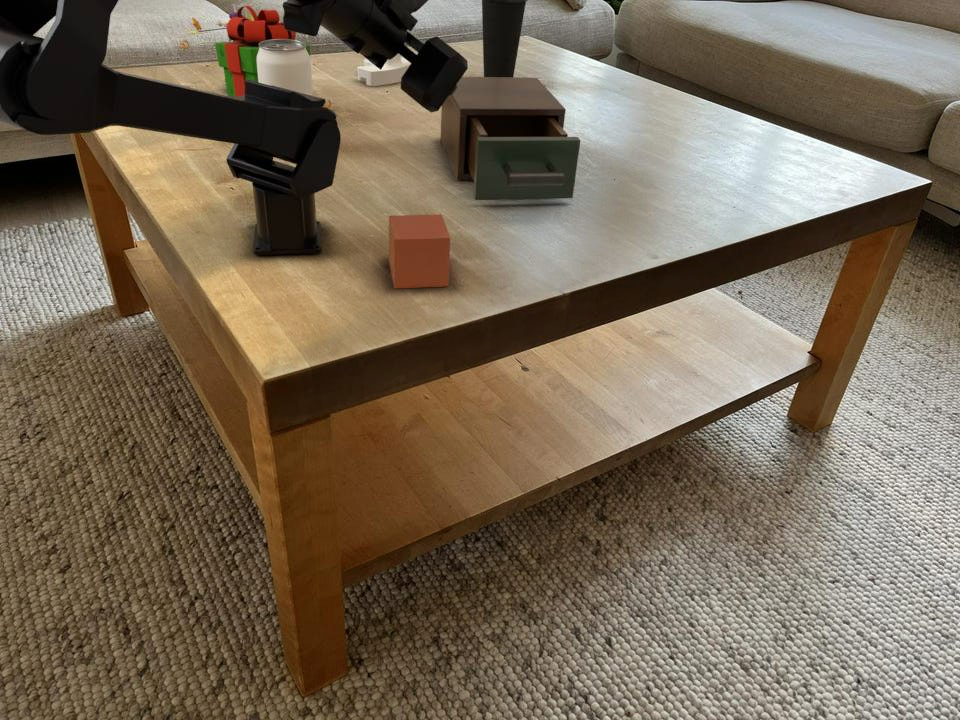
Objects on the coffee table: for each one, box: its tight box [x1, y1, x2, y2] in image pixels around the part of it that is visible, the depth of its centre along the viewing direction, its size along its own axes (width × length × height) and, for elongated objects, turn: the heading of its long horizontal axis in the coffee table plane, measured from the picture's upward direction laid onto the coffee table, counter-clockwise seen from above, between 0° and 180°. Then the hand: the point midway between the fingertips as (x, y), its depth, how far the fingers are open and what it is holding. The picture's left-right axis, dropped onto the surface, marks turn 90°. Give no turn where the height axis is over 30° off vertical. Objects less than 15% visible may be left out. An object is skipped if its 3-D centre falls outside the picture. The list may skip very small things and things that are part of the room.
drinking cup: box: [481, 0, 529, 77], centre depth 123 cm, size 8×8×20 cm
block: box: [388, 213, 451, 290], centre depth 71 cm, size 5×5×5 cm
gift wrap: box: [179, 5, 332, 109], centre depth 103 cm, size 20×19×14 cm
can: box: [257, 39, 314, 96], centre depth 95 cm, size 6×6×12 cm
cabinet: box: [440, 76, 567, 181], centre depth 96 cm, size 14×13×9 cm
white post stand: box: [357, 53, 411, 87], centre depth 122 cm, size 11×8×20 cm
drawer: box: [465, 115, 581, 201], centre depth 88 cm, size 17×11×7 cm
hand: (426, 68), depth 86 cm, fingers open, 9 cm apart
